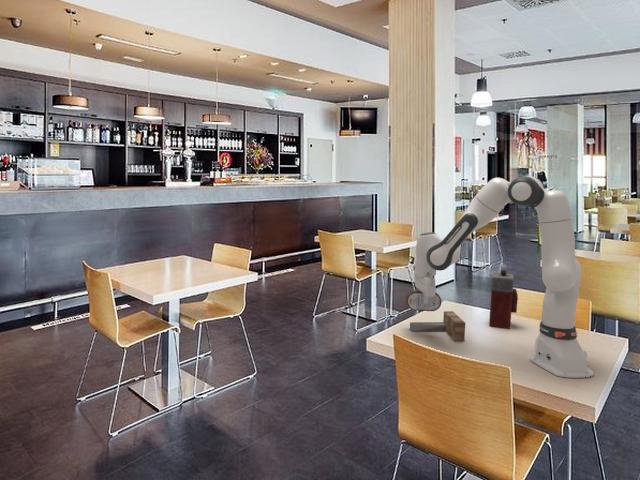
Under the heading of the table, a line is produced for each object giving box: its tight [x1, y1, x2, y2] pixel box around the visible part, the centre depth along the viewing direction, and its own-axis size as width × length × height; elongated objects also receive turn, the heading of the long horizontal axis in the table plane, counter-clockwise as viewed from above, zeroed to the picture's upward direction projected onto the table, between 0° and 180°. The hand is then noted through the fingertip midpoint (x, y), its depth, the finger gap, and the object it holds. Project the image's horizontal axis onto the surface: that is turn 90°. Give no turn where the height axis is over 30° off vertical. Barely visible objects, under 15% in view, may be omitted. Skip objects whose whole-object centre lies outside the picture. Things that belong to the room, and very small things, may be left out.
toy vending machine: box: [488, 264, 519, 330], centre depth 220 cm, size 9×11×28 cm
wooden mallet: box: [409, 310, 466, 342], centre depth 208 cm, size 16×19×8 cm
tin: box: [405, 290, 442, 312], centre depth 208 cm, size 15×3×8 cm, turn 88°
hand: (423, 301), depth 208 cm, fingers closed on tin, 3 cm apart
